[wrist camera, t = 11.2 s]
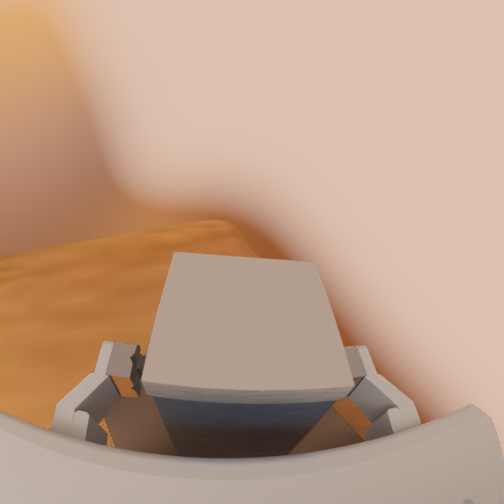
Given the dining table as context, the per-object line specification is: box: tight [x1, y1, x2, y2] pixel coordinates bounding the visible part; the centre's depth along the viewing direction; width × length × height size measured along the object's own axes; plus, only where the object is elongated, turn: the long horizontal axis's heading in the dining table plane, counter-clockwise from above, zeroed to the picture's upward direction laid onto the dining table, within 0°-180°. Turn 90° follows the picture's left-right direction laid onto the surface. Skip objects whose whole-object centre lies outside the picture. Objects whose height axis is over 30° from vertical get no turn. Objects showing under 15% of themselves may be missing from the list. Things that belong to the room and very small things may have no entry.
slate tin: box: [141, 252, 355, 458], centre depth 11 cm, size 5×5×12 cm
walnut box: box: [93, 355, 365, 456], centre depth 17 cm, size 16×14×6 cm
